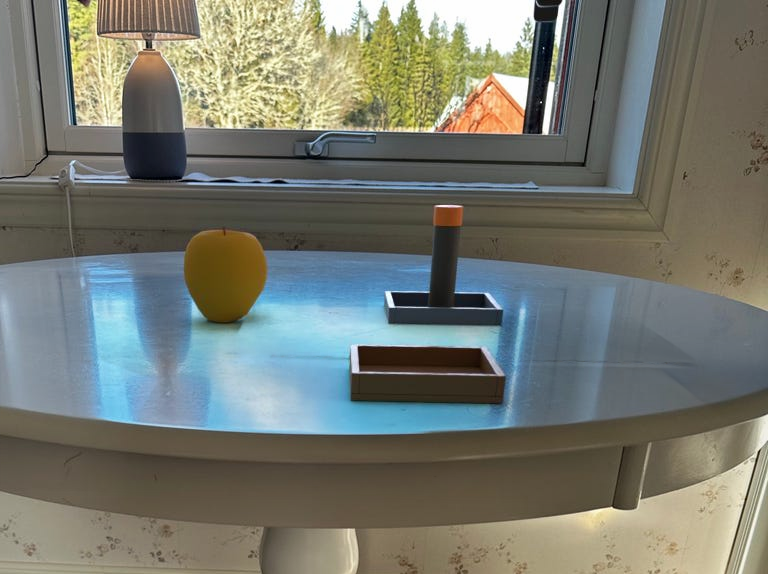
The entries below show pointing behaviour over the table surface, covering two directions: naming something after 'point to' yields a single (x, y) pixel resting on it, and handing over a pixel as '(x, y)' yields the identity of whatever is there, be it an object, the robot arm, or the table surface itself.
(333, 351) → the table surface
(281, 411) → the table surface
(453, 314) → the grey tray
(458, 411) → the table surface
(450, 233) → the marker
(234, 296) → the apple
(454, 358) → the walnut tray
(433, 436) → the table surface
